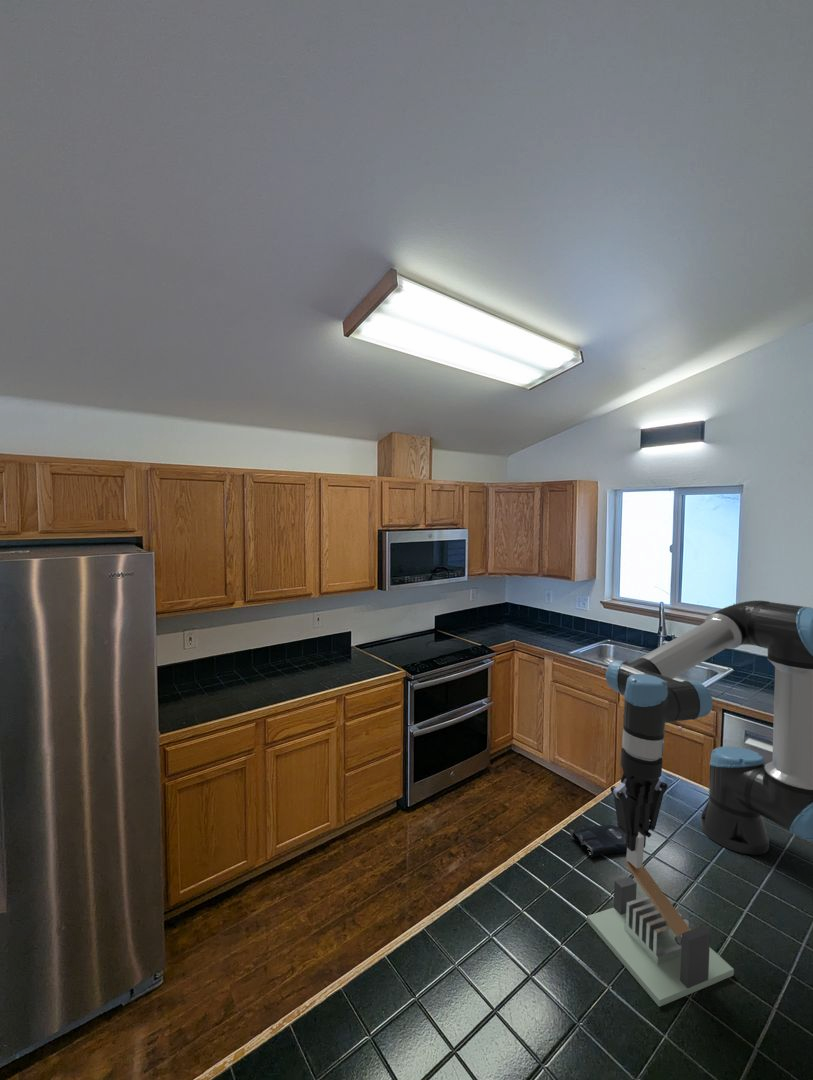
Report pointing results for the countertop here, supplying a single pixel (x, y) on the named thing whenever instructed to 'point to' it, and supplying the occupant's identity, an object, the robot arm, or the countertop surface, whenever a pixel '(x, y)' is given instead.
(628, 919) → the heatsink
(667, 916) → the strap
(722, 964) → the board
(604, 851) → the electronic device
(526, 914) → the countertop surface
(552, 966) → the countertop surface
